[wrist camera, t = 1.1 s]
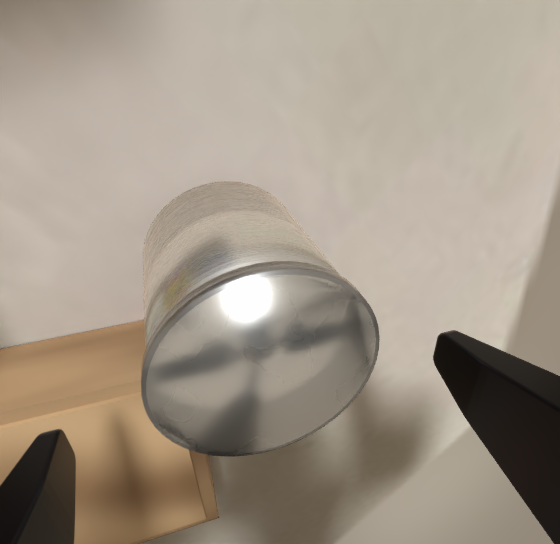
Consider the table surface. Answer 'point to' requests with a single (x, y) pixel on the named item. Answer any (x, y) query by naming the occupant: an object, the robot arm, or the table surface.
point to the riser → (103, 435)
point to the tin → (246, 325)
